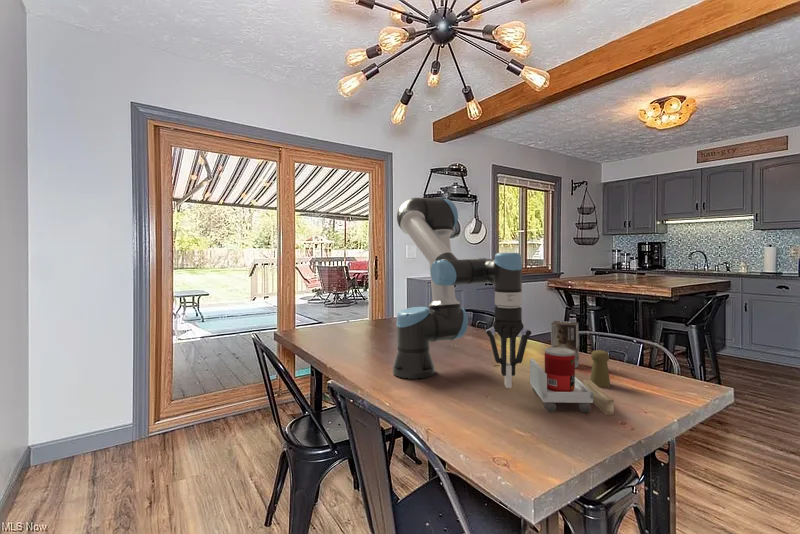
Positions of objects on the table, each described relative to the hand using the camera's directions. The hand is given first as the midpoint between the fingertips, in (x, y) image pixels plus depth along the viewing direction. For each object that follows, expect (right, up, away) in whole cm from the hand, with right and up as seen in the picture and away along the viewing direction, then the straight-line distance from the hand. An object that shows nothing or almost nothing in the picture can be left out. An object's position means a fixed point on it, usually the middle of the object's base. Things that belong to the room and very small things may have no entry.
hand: (508, 386), depth 115 cm
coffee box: (+31, -3, +35) cm, 47 cm away
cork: (+33, -3, +13) cm, 36 cm away
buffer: (+25, -4, -2) cm, 25 cm away
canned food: (+14, 0, -2) cm, 14 cm away
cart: (+14, -4, -1) cm, 15 cm away
